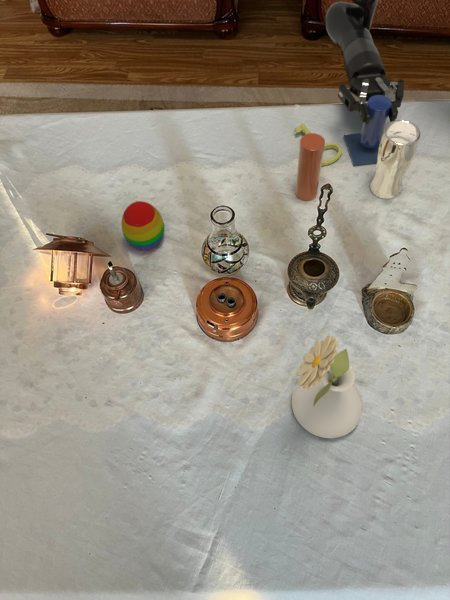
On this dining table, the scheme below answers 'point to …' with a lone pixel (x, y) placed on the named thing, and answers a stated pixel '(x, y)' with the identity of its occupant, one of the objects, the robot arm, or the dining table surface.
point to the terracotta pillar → (309, 166)
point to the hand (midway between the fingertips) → (380, 119)
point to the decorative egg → (142, 225)
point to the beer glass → (394, 157)
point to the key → (326, 146)
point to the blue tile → (360, 151)
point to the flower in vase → (327, 392)
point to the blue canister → (375, 121)
